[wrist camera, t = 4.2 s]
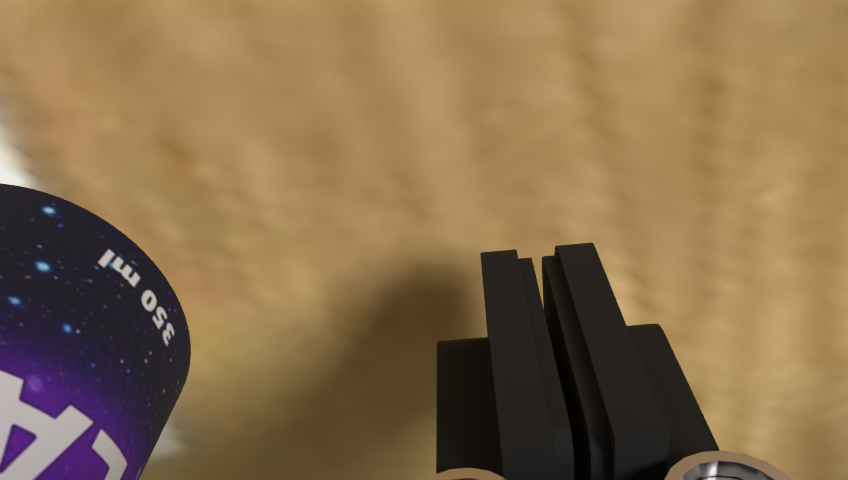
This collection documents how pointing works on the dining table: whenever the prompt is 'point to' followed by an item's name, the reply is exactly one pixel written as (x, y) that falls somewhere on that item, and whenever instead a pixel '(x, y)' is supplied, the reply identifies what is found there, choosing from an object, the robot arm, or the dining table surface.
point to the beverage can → (81, 344)
